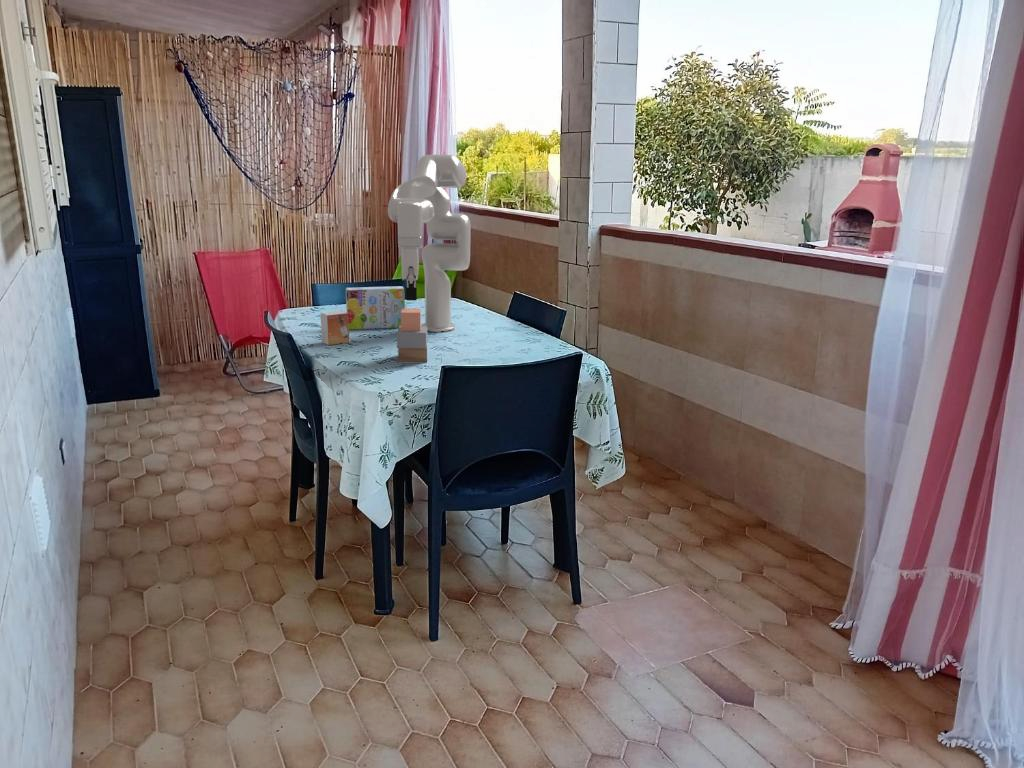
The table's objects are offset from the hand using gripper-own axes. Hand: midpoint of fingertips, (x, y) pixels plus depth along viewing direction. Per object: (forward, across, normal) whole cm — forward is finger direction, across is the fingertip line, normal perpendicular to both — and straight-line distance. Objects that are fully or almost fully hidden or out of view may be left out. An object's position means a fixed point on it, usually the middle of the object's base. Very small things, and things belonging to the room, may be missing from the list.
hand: (411, 297), depth 244 cm
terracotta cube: (+10, +1, 0) cm, 10 cm away
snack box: (+21, -44, -13) cm, 51 cm away
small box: (+20, -21, -26) cm, 39 cm away
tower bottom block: (+20, +1, 0) cm, 20 cm away
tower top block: (+15, +1, 0) cm, 15 cm away
